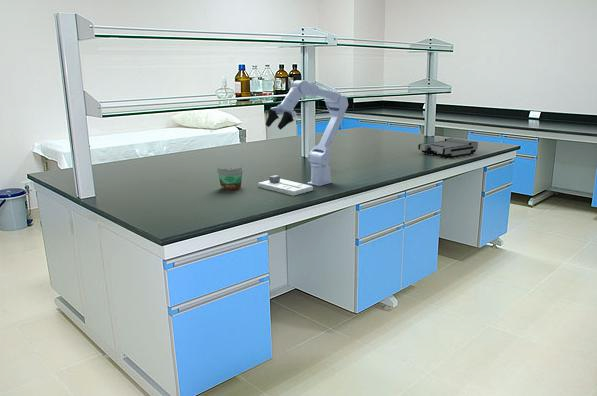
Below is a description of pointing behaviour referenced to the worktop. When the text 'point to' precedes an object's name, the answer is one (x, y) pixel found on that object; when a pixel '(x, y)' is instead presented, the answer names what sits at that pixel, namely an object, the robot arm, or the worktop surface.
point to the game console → (450, 147)
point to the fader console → (286, 187)
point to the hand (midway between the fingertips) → (273, 126)
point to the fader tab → (274, 178)
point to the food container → (230, 178)
